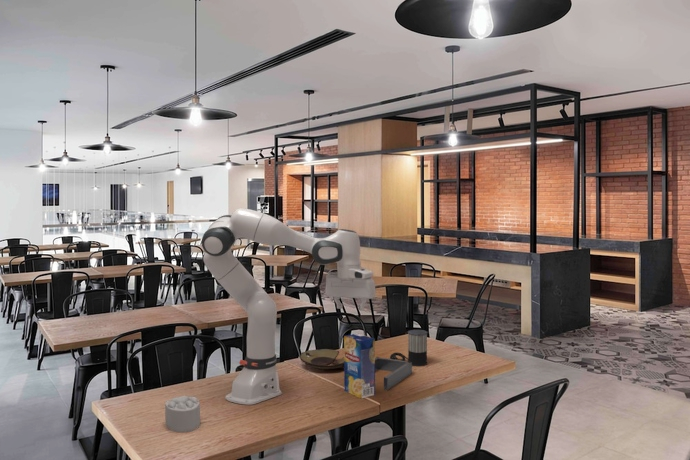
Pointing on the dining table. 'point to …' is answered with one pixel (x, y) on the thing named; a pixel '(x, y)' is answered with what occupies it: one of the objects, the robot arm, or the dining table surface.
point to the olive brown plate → (322, 358)
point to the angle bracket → (393, 370)
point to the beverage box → (359, 365)
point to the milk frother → (415, 348)
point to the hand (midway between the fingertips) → (350, 309)
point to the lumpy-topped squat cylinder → (182, 414)
